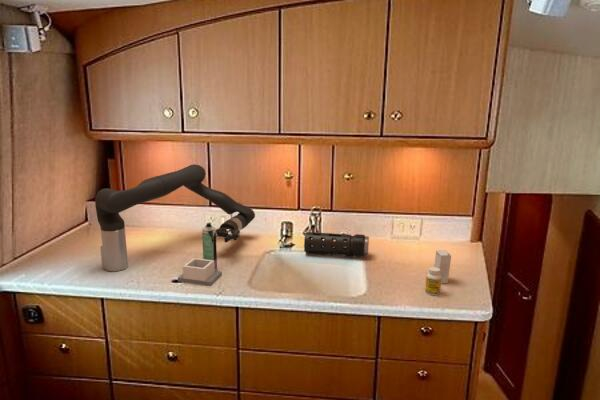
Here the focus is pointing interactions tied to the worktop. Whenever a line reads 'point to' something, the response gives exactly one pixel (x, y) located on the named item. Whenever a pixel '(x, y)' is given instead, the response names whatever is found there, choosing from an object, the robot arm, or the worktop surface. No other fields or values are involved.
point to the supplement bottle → (433, 281)
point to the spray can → (209, 243)
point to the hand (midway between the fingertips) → (215, 239)
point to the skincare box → (443, 264)
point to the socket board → (199, 272)
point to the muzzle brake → (336, 244)
